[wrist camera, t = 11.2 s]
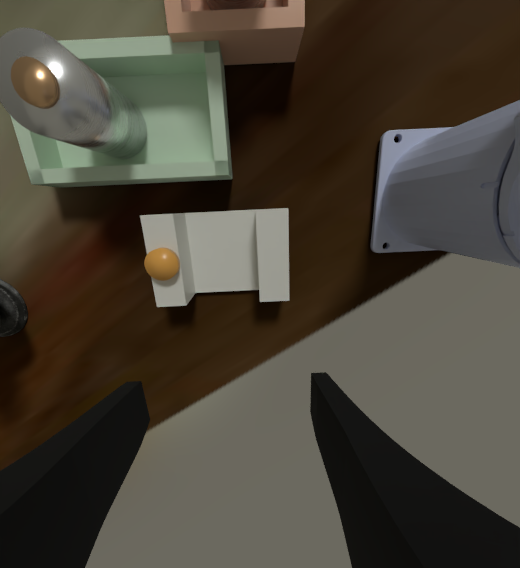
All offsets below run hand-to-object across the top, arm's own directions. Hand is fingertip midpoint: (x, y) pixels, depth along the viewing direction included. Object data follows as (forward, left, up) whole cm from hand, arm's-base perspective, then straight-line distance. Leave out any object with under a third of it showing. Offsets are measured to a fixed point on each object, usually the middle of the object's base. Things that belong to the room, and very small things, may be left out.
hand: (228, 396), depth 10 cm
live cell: (+7, -13, -9) cm, 17 cm away
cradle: (+1, -5, -10) cm, 11 cm away
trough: (+6, -13, -10) cm, 17 cm away
